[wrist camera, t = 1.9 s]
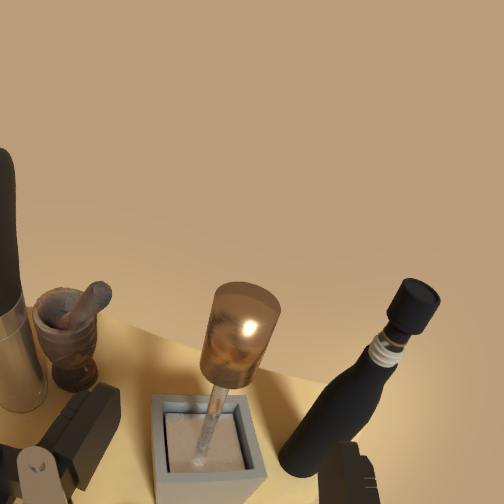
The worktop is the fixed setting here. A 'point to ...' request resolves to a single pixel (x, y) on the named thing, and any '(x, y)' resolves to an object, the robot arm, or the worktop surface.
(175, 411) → the grey open box
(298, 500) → the worktop surface
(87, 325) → the mortar and pestle
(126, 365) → the worktop surface
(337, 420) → the black water bottle
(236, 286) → the plunger
